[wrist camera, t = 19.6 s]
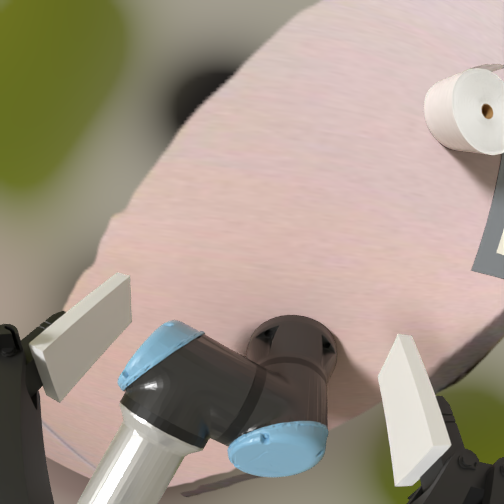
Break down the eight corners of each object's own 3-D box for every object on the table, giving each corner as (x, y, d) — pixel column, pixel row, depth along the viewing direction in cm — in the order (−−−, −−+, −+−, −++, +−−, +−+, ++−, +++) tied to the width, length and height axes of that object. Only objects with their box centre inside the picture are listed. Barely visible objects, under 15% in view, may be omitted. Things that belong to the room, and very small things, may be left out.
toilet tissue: (424, 148, 37) (453, 151, 28) (418, 67, 34) (444, 50, 24) (484, 153, 35) (520, 159, 26) (478, 77, 31) (513, 67, 22)
